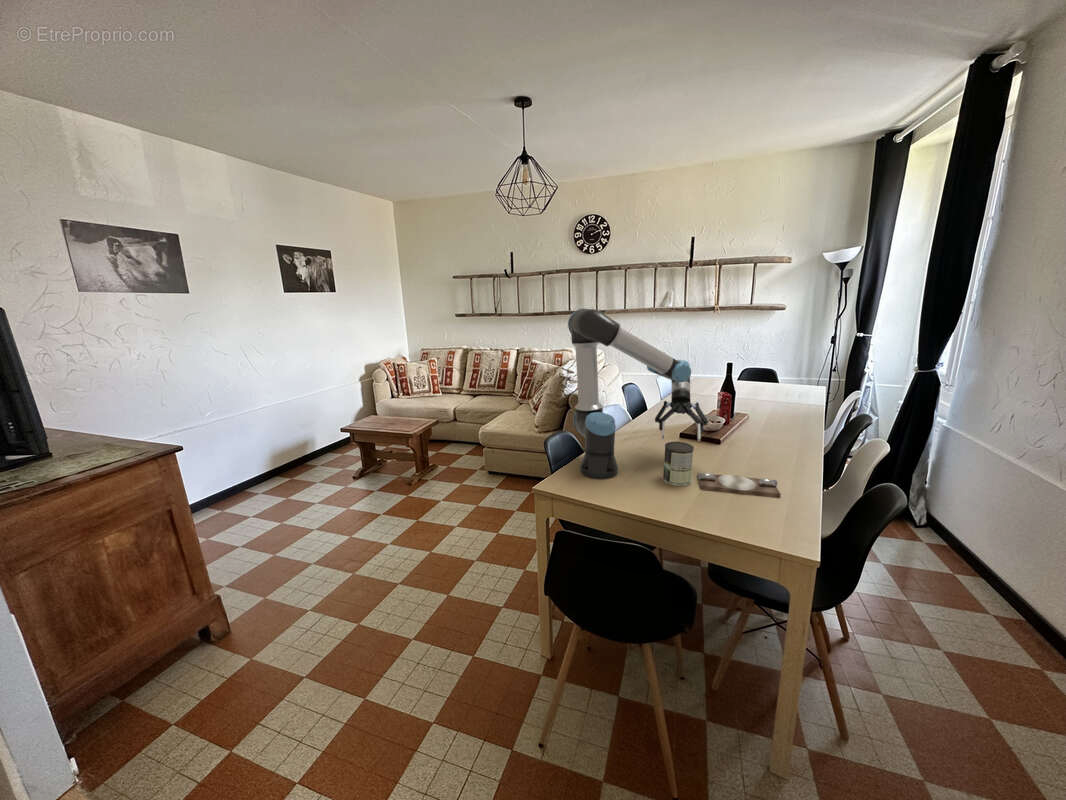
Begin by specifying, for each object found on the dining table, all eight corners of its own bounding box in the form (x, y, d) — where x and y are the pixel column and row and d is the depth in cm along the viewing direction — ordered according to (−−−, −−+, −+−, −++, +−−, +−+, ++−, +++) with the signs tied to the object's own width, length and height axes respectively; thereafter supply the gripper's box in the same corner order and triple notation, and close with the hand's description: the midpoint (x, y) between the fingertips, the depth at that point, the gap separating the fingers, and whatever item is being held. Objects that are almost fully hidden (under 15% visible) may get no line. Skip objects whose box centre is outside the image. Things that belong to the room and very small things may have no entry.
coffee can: (657, 479, 159) (659, 445, 155) (672, 472, 165) (674, 439, 162) (681, 488, 151) (684, 452, 148) (696, 481, 157) (699, 446, 154)
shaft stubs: (699, 480, 154) (700, 474, 154) (698, 477, 157) (699, 471, 156) (776, 487, 147) (777, 481, 147) (774, 485, 150) (775, 479, 149)
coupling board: (700, 489, 150) (701, 485, 149) (697, 475, 162) (697, 471, 161) (780, 498, 143) (781, 493, 142) (770, 482, 155) (771, 478, 155)
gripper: (711, 399, 173) (713, 444, 163) (649, 396, 180) (648, 440, 169) (714, 389, 167) (716, 436, 157) (650, 387, 173) (648, 432, 163)
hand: (680, 438), depth 163 cm, fingers open, 13 cm apart
